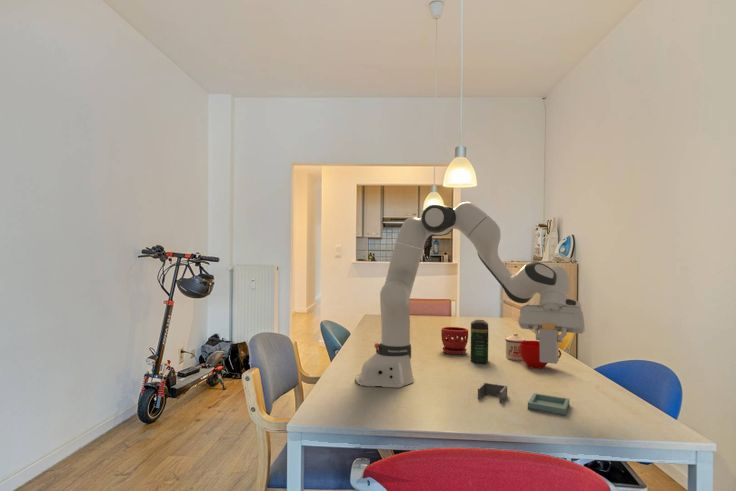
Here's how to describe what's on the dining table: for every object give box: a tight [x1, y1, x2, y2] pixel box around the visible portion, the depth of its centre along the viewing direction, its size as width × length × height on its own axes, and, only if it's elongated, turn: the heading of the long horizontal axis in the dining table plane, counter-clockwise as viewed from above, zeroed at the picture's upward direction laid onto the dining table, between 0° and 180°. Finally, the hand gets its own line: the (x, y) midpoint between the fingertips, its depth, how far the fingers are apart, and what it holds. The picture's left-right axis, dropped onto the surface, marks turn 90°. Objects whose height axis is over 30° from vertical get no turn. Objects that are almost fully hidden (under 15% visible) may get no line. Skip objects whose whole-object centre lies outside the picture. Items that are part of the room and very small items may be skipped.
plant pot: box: [440, 326, 469, 356], centre depth 216 cm, size 13×13×12 cm
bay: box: [477, 382, 508, 404], centre depth 150 cm, size 8×8×4 cm
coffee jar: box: [470, 319, 489, 364], centre depth 200 cm, size 10×8×19 cm
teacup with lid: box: [504, 332, 527, 361], centre depth 205 cm, size 12×9×12 cm
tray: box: [527, 392, 570, 417], centre depth 141 cm, size 11×11×2 cm
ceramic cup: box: [520, 340, 562, 369], centre depth 189 cm, size 13×17×10 cm
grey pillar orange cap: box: [538, 323, 560, 365], centre depth 142 cm, size 5×5×12 cm
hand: (548, 340), depth 141 cm, fingers closed on grey pillar orange cap, 5 cm apart
